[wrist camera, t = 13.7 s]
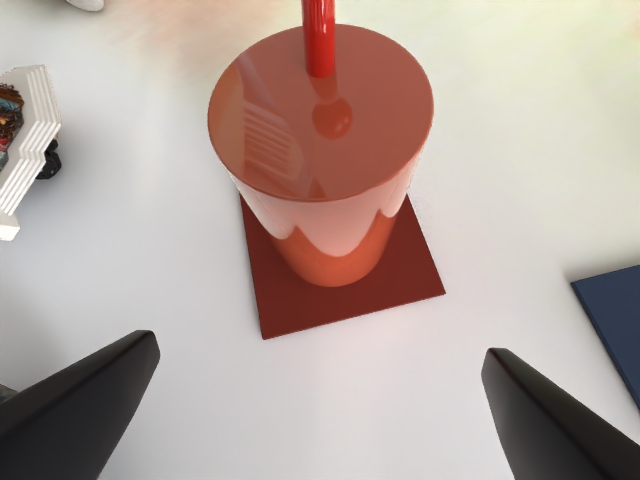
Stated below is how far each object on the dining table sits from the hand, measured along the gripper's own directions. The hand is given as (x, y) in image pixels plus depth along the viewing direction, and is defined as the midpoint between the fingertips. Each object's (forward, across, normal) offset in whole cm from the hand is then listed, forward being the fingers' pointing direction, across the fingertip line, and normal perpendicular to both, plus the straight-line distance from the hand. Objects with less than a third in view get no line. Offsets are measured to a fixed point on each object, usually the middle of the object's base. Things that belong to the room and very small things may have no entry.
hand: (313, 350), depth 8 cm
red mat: (+10, 0, +1) cm, 11 cm away
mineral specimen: (+14, +21, -2) cm, 25 cm away
